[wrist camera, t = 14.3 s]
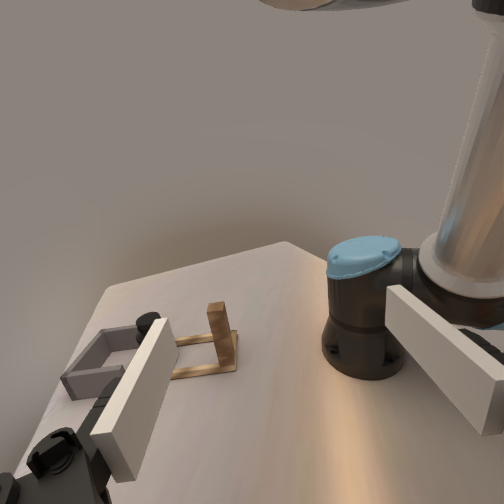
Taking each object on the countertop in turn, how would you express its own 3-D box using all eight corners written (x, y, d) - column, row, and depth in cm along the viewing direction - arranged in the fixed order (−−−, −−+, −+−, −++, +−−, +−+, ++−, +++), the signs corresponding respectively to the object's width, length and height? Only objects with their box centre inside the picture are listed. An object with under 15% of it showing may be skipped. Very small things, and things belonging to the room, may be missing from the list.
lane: (72, 400, 49) (59, 377, 47) (109, 348, 62) (101, 329, 60) (129, 392, 49) (119, 369, 47) (154, 342, 62) (147, 323, 60)
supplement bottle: (140, 368, 55) (123, 323, 50) (165, 347, 60) (151, 305, 56) (159, 379, 51) (142, 332, 47) (184, 356, 56) (171, 312, 52)
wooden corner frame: (132, 384, 50) (107, 326, 45) (151, 346, 60) (133, 295, 56) (236, 370, 50) (222, 310, 45) (237, 334, 60) (226, 282, 55)
